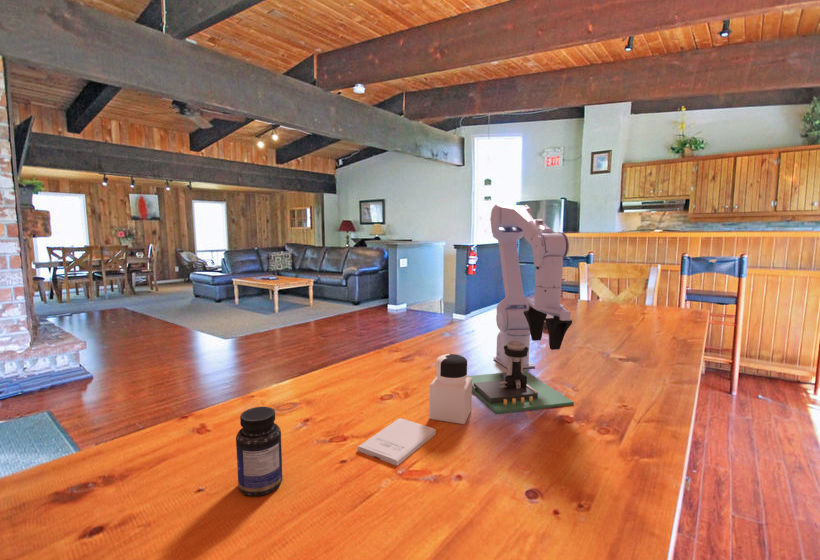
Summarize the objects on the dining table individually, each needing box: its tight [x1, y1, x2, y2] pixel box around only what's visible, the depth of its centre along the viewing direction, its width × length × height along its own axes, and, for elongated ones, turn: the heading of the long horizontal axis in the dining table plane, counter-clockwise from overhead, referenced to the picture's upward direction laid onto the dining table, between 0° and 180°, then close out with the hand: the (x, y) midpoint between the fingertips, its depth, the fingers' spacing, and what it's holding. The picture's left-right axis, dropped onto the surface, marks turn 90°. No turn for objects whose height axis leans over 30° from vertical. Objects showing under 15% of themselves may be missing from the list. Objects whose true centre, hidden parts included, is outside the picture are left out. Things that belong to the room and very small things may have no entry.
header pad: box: [474, 380, 538, 404], centre depth 95 cm, size 9×11×2 cm
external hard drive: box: [356, 417, 437, 466], centre depth 75 cm, size 2×8×12 cm
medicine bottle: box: [428, 353, 473, 425], centre depth 85 cm, size 7×7×12 cm
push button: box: [499, 341, 530, 389], centre depth 95 cm, size 7×5×10 cm
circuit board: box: [467, 370, 575, 415], centre depth 98 cm, size 20×18×2 cm
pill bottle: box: [235, 406, 283, 497], centre depth 61 cm, size 6×6×11 cm
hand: (545, 344), depth 99 cm, fingers open, 7 cm apart
